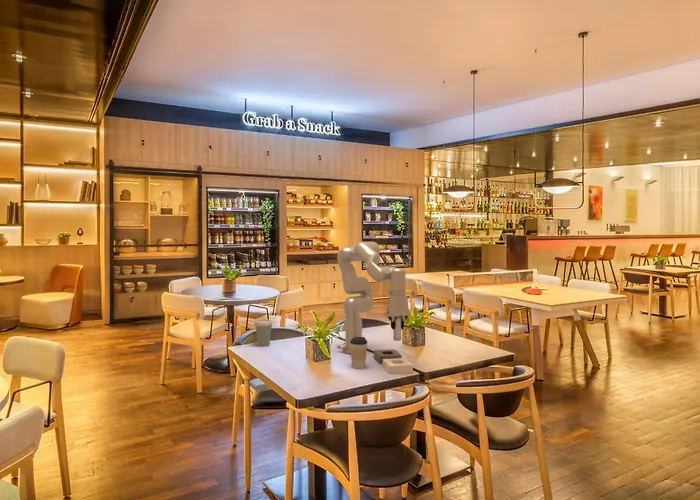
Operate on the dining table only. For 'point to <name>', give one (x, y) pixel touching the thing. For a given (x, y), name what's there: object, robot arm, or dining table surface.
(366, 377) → the dining table surface
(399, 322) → the pin
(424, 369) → the dining table surface
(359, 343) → the coffee cup
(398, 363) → the socket block
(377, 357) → the block
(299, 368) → the dining table surface
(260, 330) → the disposable coffee cup
